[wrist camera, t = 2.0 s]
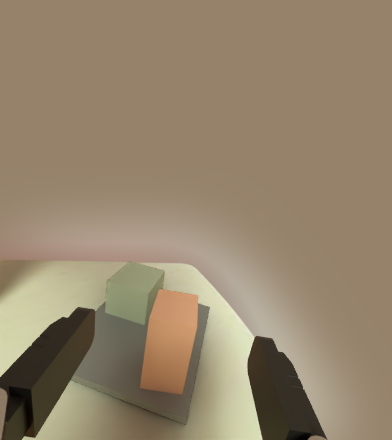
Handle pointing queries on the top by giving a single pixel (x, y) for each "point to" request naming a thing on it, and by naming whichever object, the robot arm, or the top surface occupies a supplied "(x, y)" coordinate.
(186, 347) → the top brick
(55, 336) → the robot arm
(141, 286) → the bottom brick
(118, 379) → the baseplate
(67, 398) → the top surface
